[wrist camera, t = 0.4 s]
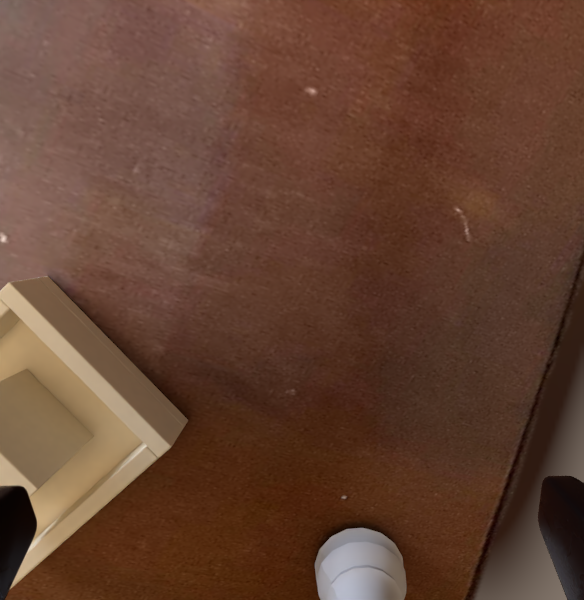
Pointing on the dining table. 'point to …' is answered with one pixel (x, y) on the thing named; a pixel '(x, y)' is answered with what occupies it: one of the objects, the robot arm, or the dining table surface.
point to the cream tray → (82, 407)
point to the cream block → (34, 433)
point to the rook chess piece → (360, 567)
